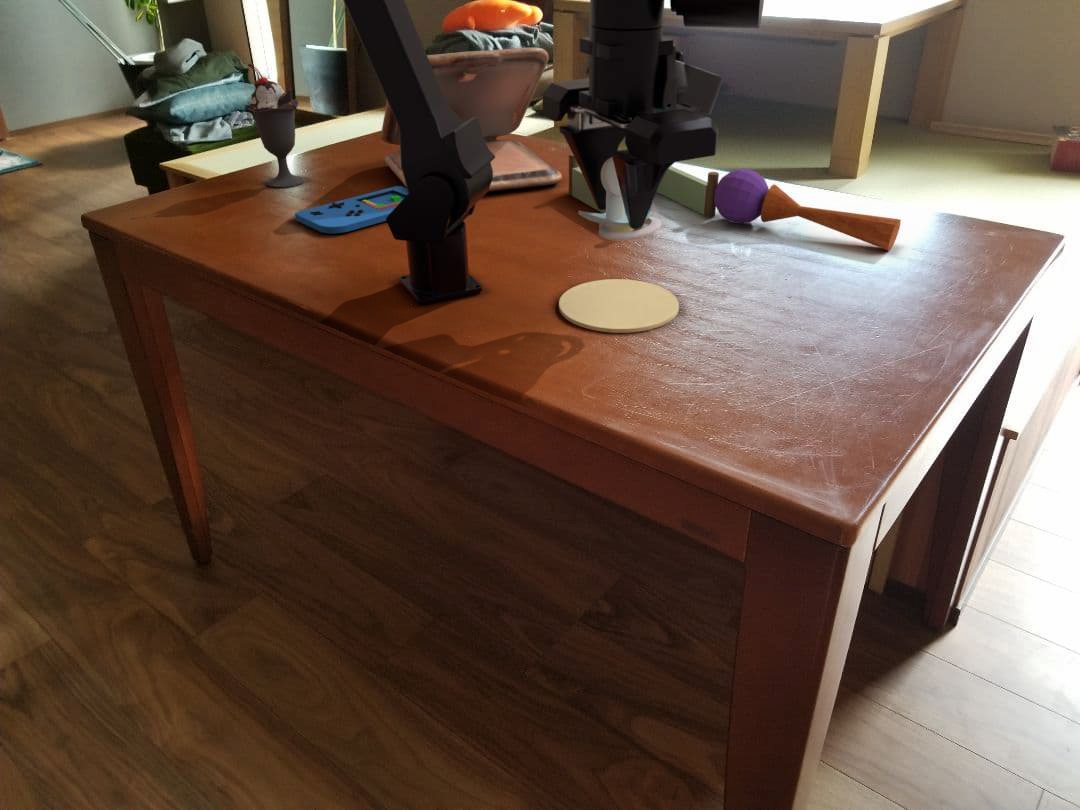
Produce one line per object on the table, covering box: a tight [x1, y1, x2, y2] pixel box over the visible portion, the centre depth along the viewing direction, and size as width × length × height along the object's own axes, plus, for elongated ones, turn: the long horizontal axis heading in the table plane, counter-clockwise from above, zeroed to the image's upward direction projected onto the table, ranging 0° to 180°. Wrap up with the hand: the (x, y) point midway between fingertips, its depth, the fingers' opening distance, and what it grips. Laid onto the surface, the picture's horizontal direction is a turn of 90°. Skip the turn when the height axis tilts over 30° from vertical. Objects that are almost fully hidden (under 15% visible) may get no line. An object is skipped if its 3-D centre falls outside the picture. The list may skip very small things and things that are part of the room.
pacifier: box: [577, 157, 662, 242], centre depth 74 cm, size 7×6×6 cm
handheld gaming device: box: [294, 185, 409, 235], centre depth 103 cm, size 8×1×15 cm
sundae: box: [244, 62, 306, 189], centre depth 112 cm, size 7×7×15 cm
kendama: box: [714, 167, 902, 252], centre depth 94 cm, size 6×6×20 cm
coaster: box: [558, 278, 680, 334], centre depth 80 cm, size 11×11×1 cm
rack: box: [568, 152, 720, 231], centre depth 103 cm, size 16×11×5 cm
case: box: [380, 47, 563, 193], centre depth 113 cm, size 20×21×16 cm
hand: (619, 218), depth 76 cm, fingers closed on pacifier, 5 cm apart
